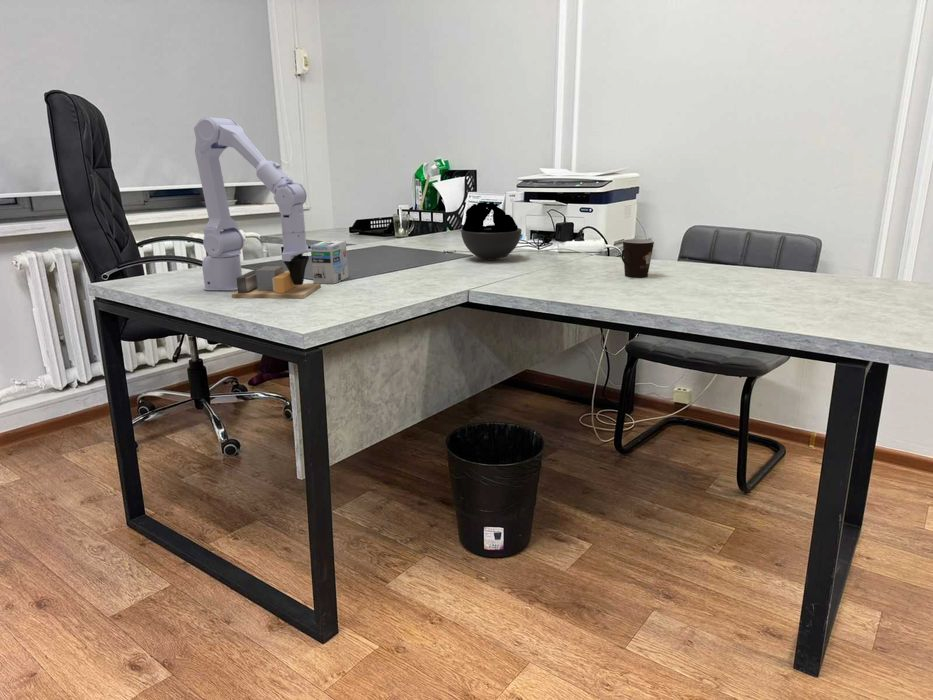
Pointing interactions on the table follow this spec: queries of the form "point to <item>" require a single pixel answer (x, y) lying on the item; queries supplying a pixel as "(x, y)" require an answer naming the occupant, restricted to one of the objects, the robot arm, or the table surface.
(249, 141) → the robot arm
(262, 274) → the steel block
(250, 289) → the vise
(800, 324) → the table surface
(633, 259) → the coffee mug
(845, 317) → the table surface
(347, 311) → the table surface
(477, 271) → the table surface
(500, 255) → the coal bowl
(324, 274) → the light bulb box
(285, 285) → the block
